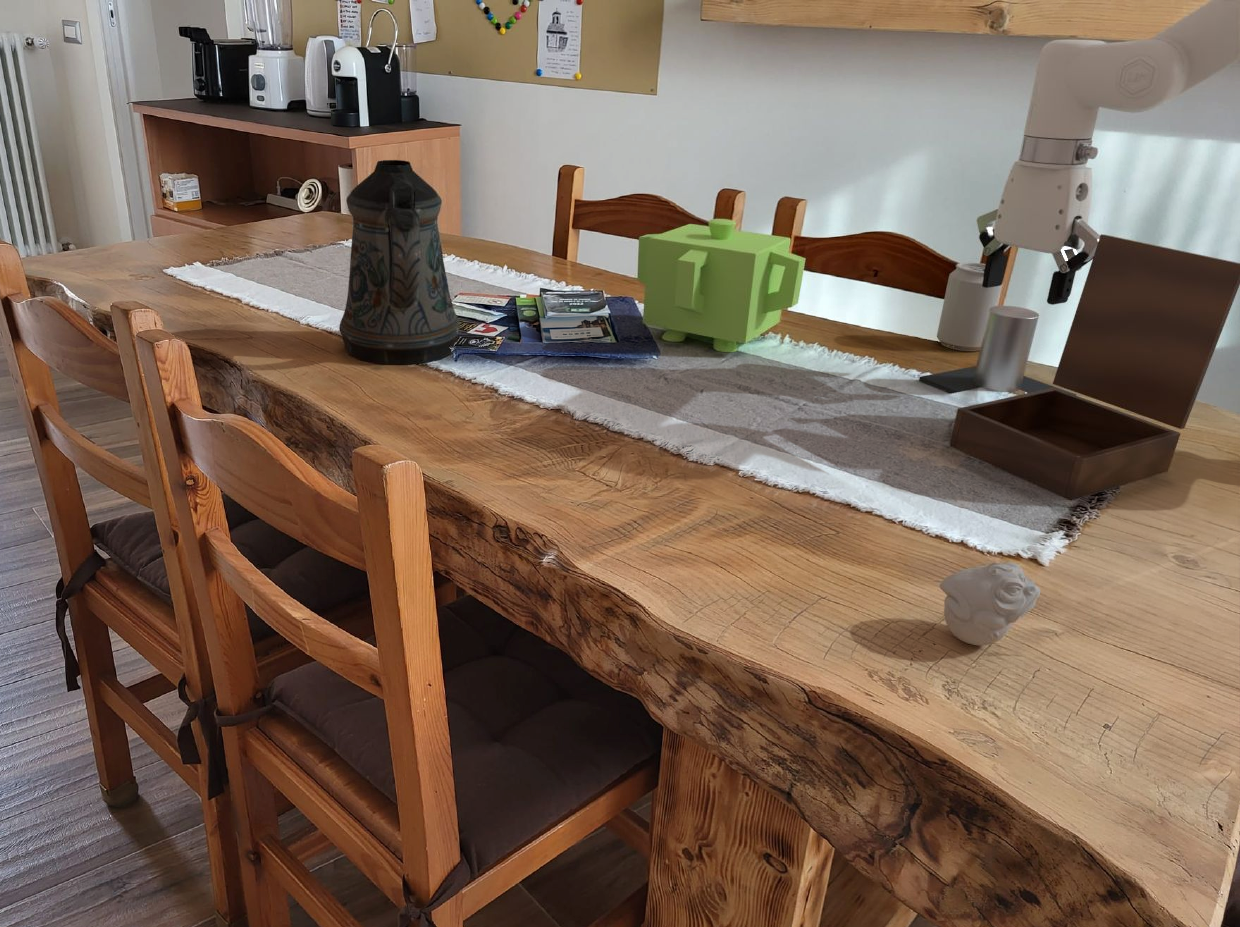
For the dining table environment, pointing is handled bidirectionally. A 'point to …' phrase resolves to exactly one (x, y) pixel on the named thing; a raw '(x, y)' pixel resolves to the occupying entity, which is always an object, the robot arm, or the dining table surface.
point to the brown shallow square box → (1064, 442)
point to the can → (966, 308)
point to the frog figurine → (987, 601)
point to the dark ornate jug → (397, 272)
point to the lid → (1147, 327)
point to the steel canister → (1005, 348)
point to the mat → (964, 381)
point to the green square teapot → (717, 282)
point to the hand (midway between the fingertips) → (1023, 294)
